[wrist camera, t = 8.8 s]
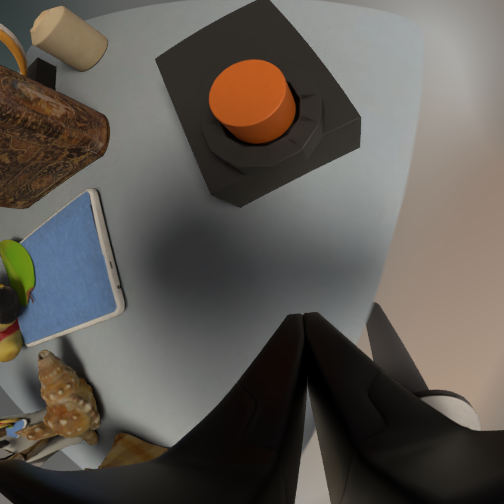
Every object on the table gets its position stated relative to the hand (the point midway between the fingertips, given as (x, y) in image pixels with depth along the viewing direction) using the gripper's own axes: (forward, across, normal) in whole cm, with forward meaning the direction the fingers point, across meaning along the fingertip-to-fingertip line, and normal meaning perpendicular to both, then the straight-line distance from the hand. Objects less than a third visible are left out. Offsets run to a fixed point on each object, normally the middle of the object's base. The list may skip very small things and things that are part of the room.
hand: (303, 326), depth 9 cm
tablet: (+18, +25, +5) cm, 31 cm away
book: (+23, +25, -7) cm, 34 cm away
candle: (+28, +21, -20) cm, 41 cm away
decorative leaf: (+15, +31, +4) cm, 34 cm away
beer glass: (+11, +28, +22) cm, 37 cm away
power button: (+11, +1, -6) cm, 13 cm away
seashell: (+12, +24, +17) cm, 32 cm away
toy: (+14, +38, +9) cm, 42 cm away
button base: (+18, +1, -7) cm, 20 cm away
